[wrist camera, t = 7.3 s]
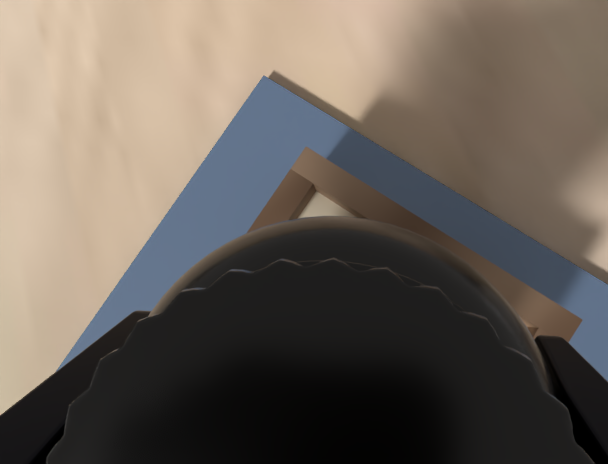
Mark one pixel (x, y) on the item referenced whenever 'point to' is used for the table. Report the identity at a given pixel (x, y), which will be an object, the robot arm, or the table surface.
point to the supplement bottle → (324, 361)
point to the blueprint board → (364, 166)
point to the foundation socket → (373, 205)
